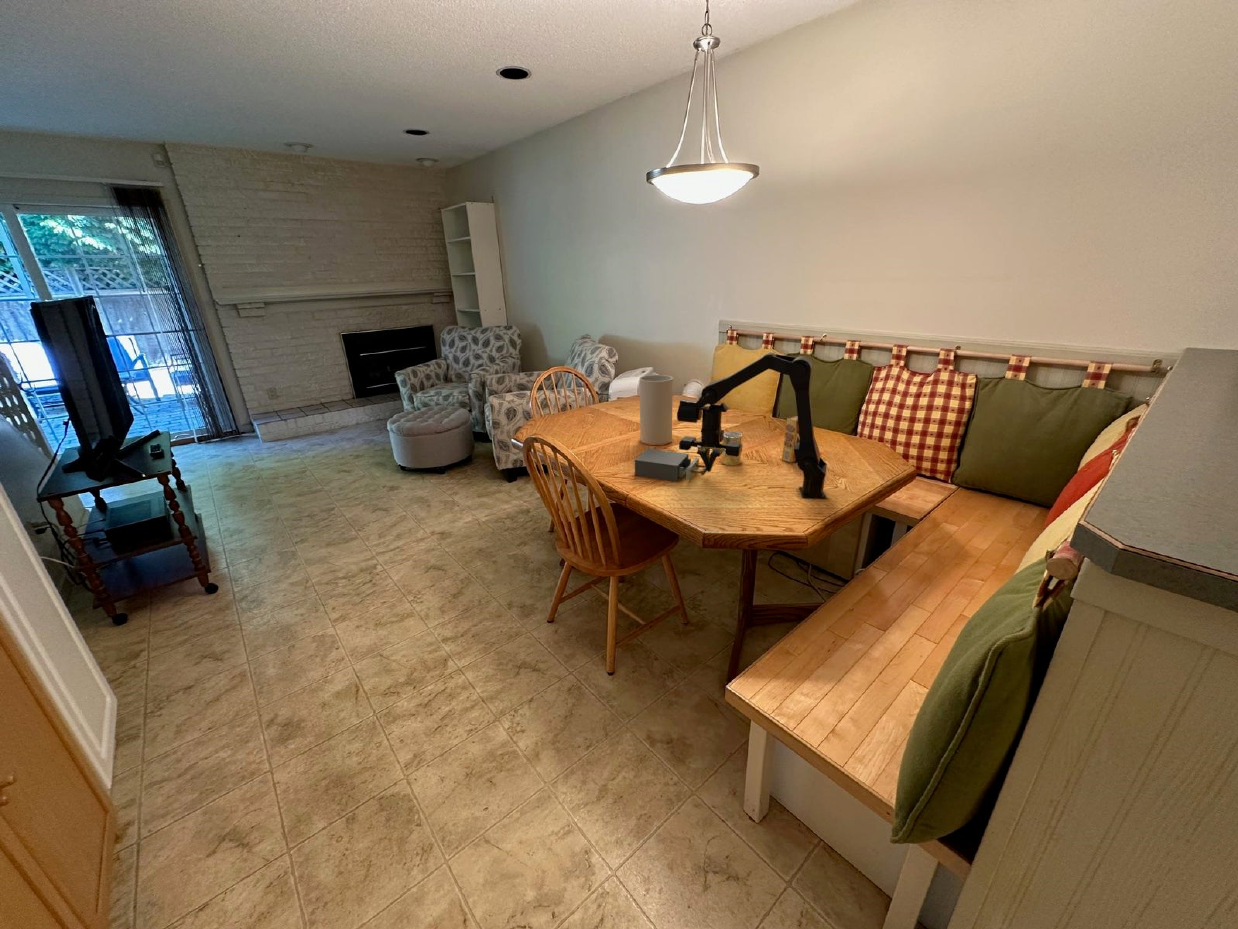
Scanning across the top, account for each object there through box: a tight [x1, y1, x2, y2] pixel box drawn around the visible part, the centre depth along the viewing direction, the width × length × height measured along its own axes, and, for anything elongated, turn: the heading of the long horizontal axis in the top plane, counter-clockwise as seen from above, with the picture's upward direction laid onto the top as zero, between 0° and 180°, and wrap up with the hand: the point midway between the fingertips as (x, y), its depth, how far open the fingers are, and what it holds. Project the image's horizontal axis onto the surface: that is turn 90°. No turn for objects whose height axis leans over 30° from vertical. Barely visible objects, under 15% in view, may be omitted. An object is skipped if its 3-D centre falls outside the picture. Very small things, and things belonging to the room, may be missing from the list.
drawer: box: [678, 457, 708, 481], centre depth 155 cm, size 18×10×4 cm, turn 65°
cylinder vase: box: [639, 374, 674, 446], centre depth 185 cm, size 12×12×25 cm
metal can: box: [720, 431, 743, 466], centre depth 164 cm, size 7×7×10 cm
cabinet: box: [634, 448, 690, 483], centre depth 158 cm, size 15×12×6 cm
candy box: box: [781, 415, 814, 464], centre depth 164 cm, size 9×4×15 cm, turn 123°
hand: (709, 471), depth 151 cm, fingers closed
